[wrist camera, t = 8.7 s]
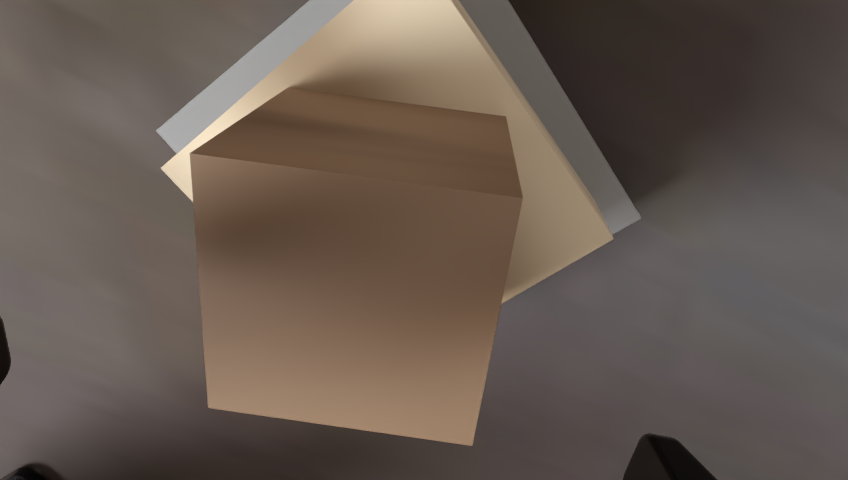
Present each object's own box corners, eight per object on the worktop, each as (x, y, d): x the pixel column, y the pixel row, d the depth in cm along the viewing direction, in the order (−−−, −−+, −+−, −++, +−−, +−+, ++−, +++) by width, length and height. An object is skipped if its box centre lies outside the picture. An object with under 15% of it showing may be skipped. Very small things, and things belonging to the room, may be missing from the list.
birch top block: (379, 331, 19) (366, 381, 17) (203, 139, 16) (160, 168, 14) (595, 200, 16) (614, 238, 14) (424, -51, 14) (414, -53, 12)
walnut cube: (472, 302, 15) (472, 445, 11) (286, 276, 15) (208, 408, 11) (505, 116, 13) (523, 198, 8) (287, 87, 13) (189, 153, 8)
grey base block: (380, 326, 22) (369, 367, 19) (194, 110, 19) (156, 130, 16) (621, 187, 19) (641, 218, 16) (445, -101, 15) (440, -111, 13)
